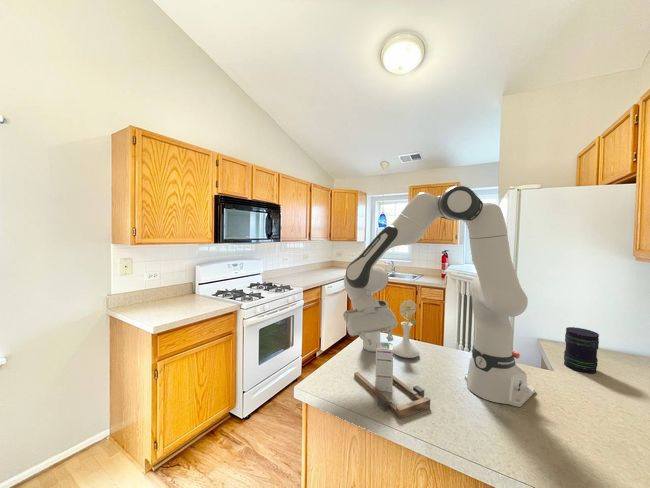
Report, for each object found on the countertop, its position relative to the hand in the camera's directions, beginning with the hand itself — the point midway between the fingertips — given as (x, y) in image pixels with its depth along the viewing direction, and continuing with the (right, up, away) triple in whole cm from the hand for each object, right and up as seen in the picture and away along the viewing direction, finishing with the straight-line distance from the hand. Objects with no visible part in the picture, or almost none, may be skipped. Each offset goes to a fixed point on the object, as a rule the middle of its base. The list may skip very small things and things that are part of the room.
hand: (380, 342), depth 95 cm
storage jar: (+83, -15, +14) cm, 86 cm away
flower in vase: (+16, -14, +22) cm, 31 cm away
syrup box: (+1, -15, -2) cm, 15 cm away
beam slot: (+2, -15, -3) cm, 15 cm away
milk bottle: (+2, -13, +29) cm, 32 cm away
